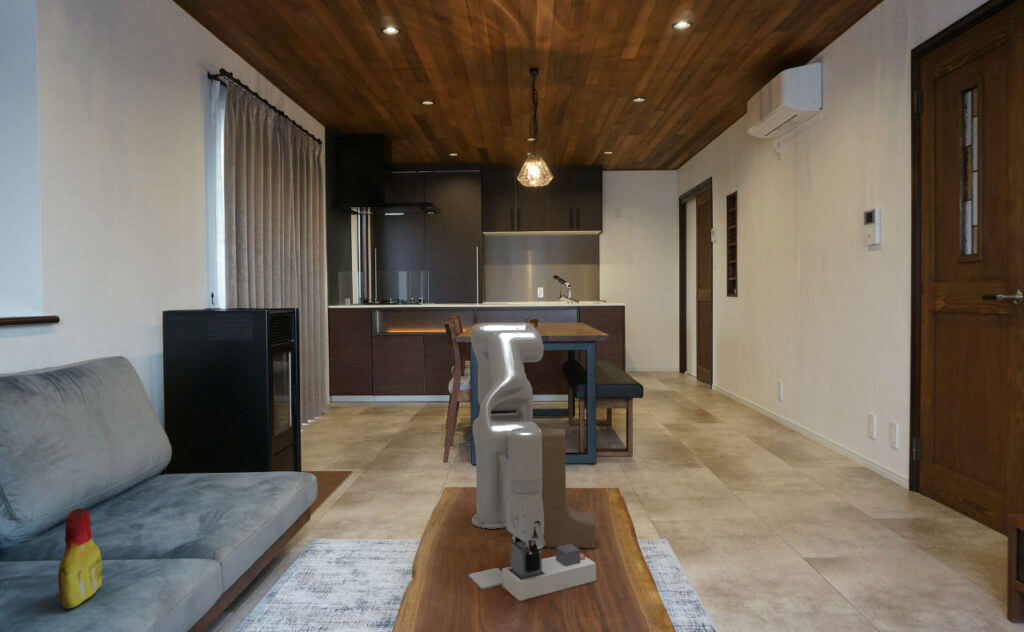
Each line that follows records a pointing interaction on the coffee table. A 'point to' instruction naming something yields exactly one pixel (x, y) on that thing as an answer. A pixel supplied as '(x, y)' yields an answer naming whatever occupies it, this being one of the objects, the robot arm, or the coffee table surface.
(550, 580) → the power strip
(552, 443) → the decorative block
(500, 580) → the felt pad
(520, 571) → the block
